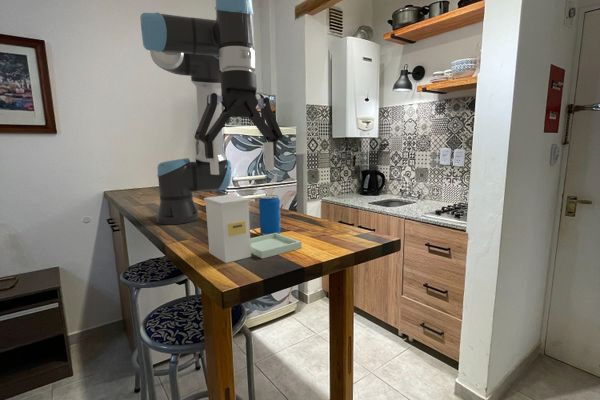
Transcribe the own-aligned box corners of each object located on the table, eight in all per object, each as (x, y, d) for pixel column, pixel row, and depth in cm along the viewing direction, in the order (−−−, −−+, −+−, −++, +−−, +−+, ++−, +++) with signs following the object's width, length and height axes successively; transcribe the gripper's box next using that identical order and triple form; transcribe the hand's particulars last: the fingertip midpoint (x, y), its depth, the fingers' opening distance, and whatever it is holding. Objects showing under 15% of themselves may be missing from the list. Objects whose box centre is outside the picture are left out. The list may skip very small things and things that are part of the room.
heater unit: (207, 252, 87) (203, 197, 84) (233, 246, 91) (230, 194, 89) (225, 263, 78) (221, 203, 76) (253, 256, 83) (250, 199, 80)
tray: (239, 247, 91) (238, 240, 91) (276, 238, 98) (275, 232, 98) (262, 258, 81) (261, 251, 81) (301, 248, 89) (301, 241, 88)
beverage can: (277, 236, 100) (276, 198, 98) (257, 236, 102) (255, 198, 100) (283, 231, 107) (281, 194, 105) (264, 230, 108) (262, 194, 106)
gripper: (185, 60, 59) (194, 177, 62) (295, 75, 74) (298, 169, 77) (172, 69, 65) (182, 175, 68) (277, 81, 80) (280, 168, 83)
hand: (243, 172), depth 73 cm, fingers open, 13 cm apart
